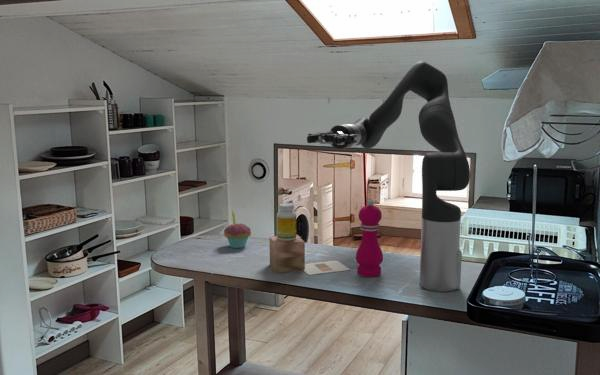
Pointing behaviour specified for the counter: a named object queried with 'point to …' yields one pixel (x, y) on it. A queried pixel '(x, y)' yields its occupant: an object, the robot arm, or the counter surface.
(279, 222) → the supplement bottle
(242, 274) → the counter surface
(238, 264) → the counter surface
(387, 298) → the counter surface
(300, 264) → the tan cubic block
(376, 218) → the pepper mill
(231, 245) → the cupcake
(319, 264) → the page
